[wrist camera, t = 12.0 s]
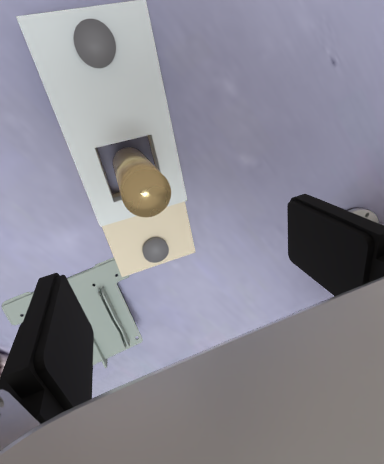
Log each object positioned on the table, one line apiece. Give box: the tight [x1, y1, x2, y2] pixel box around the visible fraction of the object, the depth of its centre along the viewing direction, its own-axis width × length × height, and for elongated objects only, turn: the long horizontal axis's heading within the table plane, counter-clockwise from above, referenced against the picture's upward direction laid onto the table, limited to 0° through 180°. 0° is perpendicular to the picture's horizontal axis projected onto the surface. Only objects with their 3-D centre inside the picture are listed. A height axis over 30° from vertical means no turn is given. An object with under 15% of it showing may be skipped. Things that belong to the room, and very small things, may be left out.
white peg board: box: [16, 0, 195, 277], centre depth 28 cm, size 26×10×4 cm, turn 11°
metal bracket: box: [2, 258, 143, 368], centre depth 35 cm, size 14×6×15 cm
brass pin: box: [113, 147, 171, 217], centre depth 24 cm, size 4×4×12 cm
